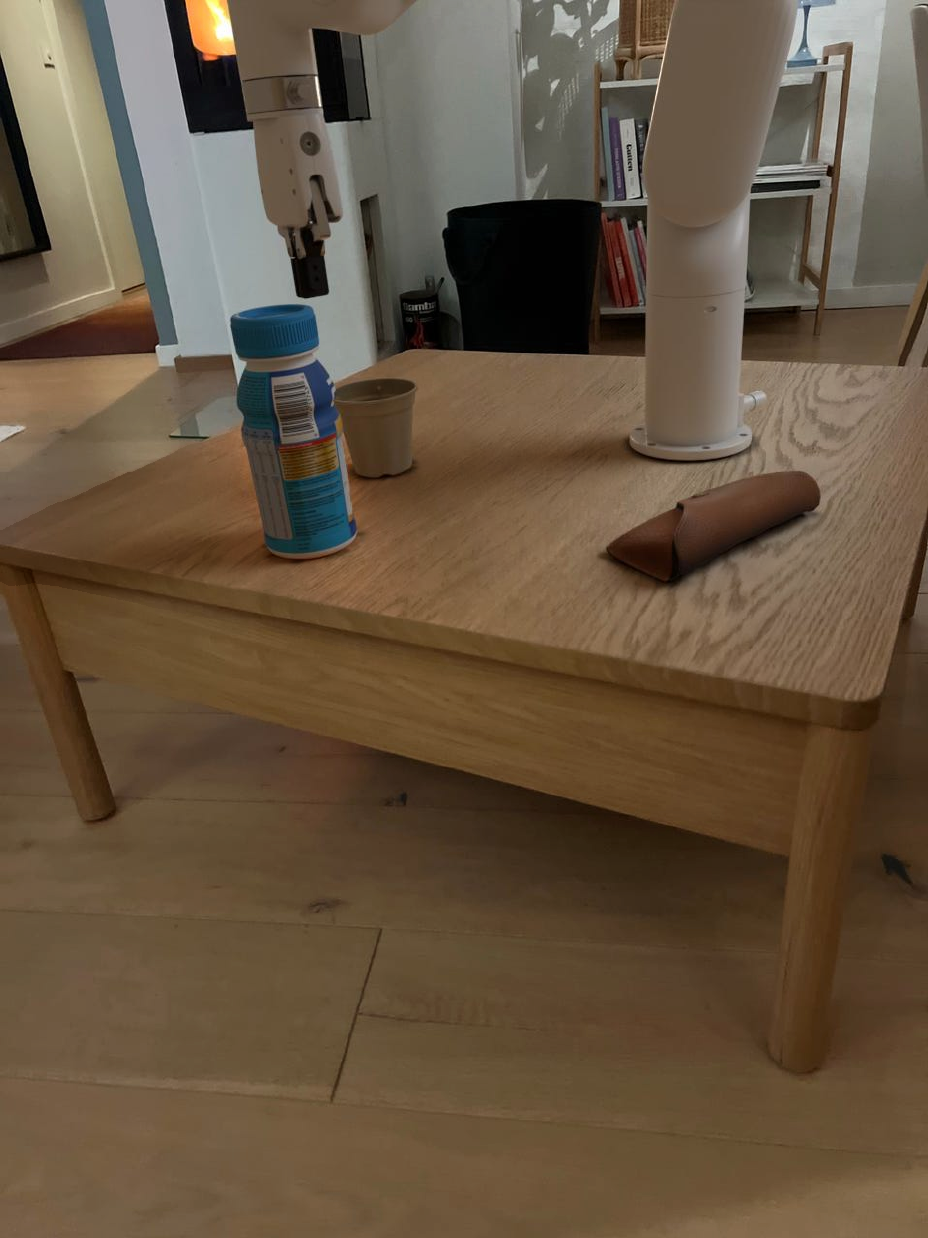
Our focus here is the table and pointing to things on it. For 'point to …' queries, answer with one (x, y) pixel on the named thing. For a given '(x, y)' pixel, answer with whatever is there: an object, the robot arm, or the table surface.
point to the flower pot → (378, 424)
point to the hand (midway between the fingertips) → (313, 295)
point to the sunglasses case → (714, 523)
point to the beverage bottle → (292, 433)
